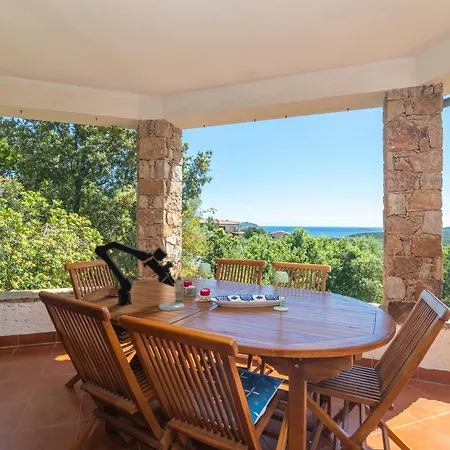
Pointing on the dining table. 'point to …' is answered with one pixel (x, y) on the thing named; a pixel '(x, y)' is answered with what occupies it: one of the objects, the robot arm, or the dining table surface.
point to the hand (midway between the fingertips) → (174, 284)
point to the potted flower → (114, 289)
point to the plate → (171, 306)
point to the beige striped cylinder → (179, 290)
